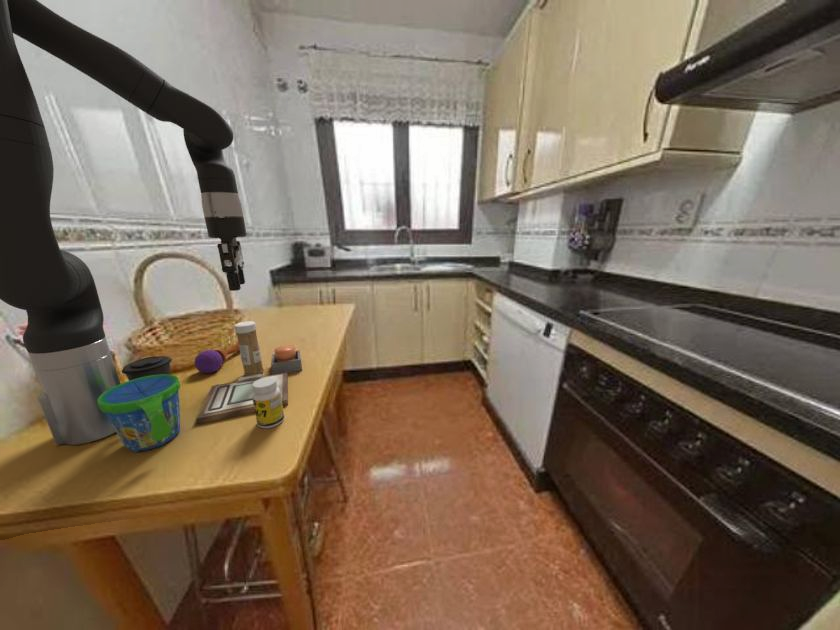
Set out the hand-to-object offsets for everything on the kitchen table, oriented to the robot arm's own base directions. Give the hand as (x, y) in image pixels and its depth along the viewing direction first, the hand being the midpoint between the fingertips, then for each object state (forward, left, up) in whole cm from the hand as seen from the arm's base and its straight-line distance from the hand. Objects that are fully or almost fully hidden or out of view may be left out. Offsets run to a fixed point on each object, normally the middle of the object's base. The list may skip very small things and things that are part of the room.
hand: (237, 287), depth 74 cm
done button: (+8, 0, -21) cm, 22 cm away
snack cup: (-14, -22, -23) cm, 35 cm away
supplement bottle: (+5, -25, -23) cm, 34 cm away
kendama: (-8, +13, -23) cm, 27 cm away
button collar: (+8, 0, -22) cm, 24 cm away
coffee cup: (-18, -7, -23) cm, 30 cm away
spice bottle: (0, 0, -23) cm, 23 cm away
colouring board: (0, -13, -22) cm, 26 cm away
